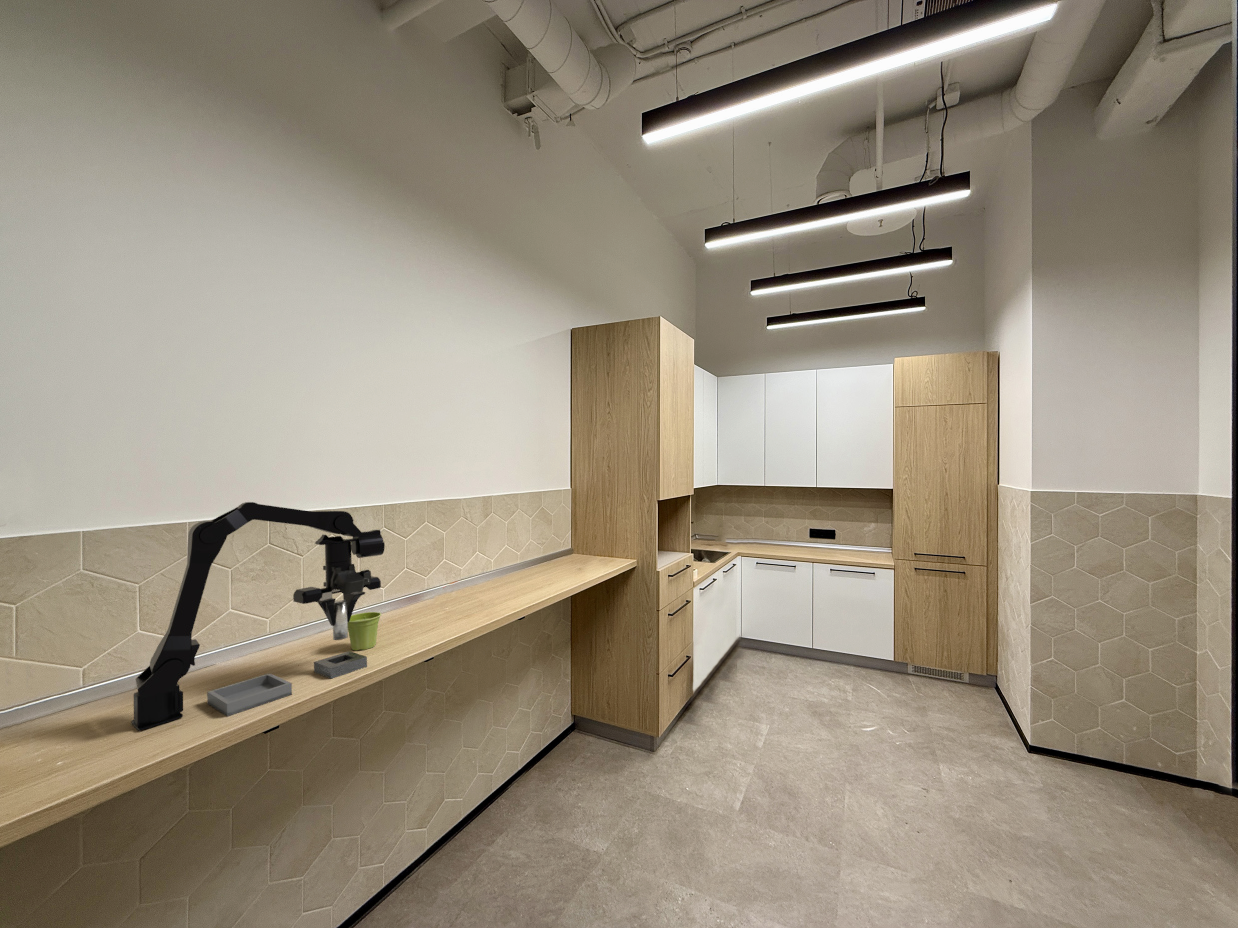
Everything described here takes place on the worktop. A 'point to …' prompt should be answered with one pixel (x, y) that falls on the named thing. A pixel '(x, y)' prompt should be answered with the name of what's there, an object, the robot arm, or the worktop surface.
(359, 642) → the plant pot
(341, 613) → the pin
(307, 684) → the worktop surface
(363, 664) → the pin holder
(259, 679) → the parts tray
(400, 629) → the worktop surface
